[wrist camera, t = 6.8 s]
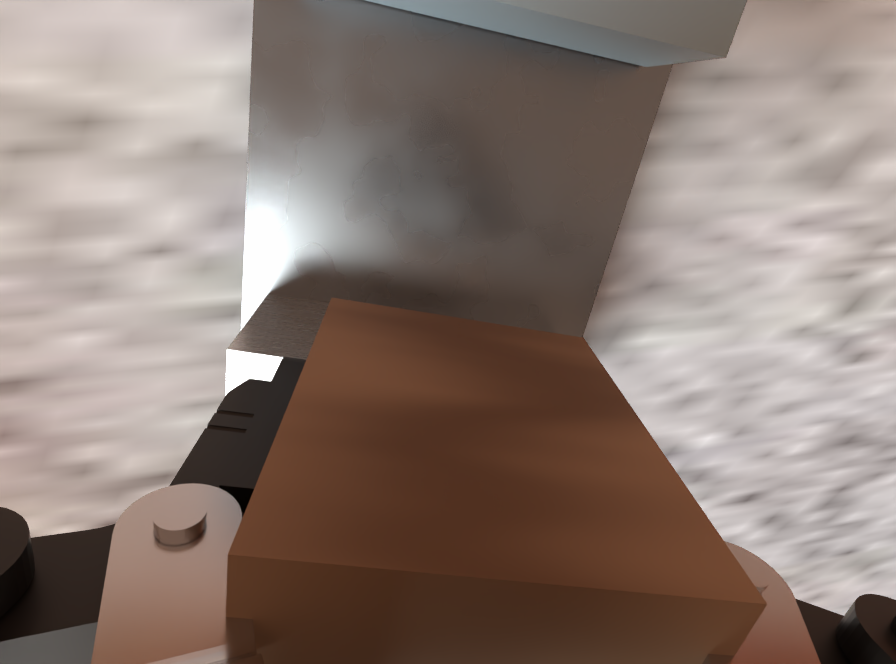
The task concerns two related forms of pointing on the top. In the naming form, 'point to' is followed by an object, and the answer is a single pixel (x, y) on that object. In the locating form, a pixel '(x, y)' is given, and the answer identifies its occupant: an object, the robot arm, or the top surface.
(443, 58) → the plate
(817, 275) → the top surface
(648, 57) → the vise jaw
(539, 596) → the walnut block
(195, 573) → the robot arm
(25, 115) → the top surface
